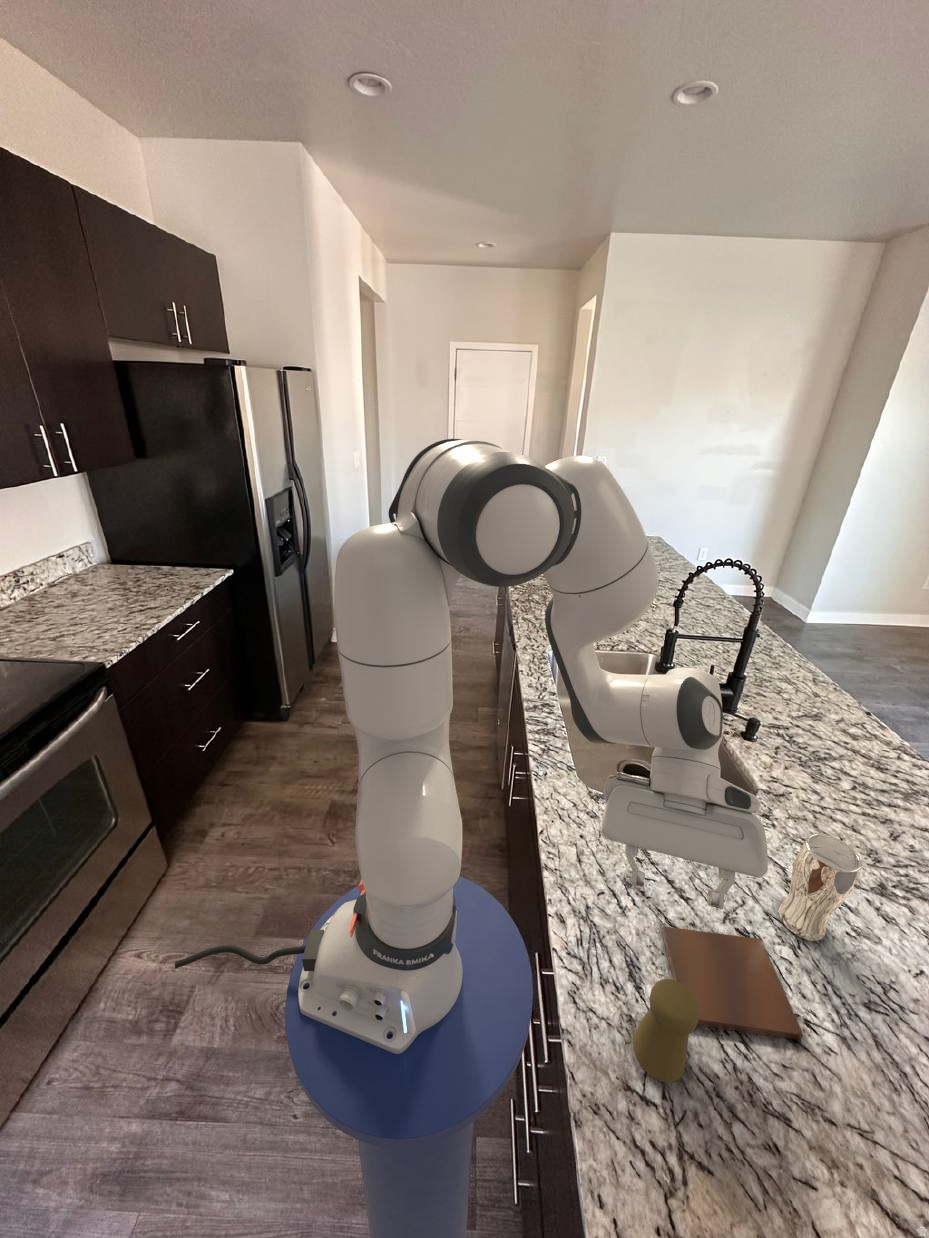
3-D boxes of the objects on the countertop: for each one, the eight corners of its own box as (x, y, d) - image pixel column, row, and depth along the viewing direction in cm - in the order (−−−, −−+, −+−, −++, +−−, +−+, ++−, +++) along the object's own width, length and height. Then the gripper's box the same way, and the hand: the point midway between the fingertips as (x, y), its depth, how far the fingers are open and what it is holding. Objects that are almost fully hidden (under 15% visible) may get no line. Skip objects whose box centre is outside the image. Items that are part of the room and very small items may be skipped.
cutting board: (684, 1023, 62) (686, 1017, 62) (660, 931, 73) (662, 925, 73) (800, 1040, 61) (803, 1034, 60) (758, 943, 72) (761, 938, 71)
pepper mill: (635, 1014, 63) (650, 960, 58) (685, 1035, 61) (705, 981, 56) (630, 1067, 58) (646, 1013, 53) (685, 1093, 56) (707, 1039, 51)
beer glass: (764, 907, 77) (792, 837, 71) (797, 895, 79) (827, 827, 73) (804, 950, 71) (839, 878, 65) (839, 936, 73) (876, 865, 67)
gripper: (607, 766, 67) (593, 876, 62) (773, 802, 62) (772, 924, 57) (604, 771, 73) (591, 871, 68) (756, 804, 67) (753, 915, 63)
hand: (675, 896), depth 63 cm, fingers open, 8 cm apart
